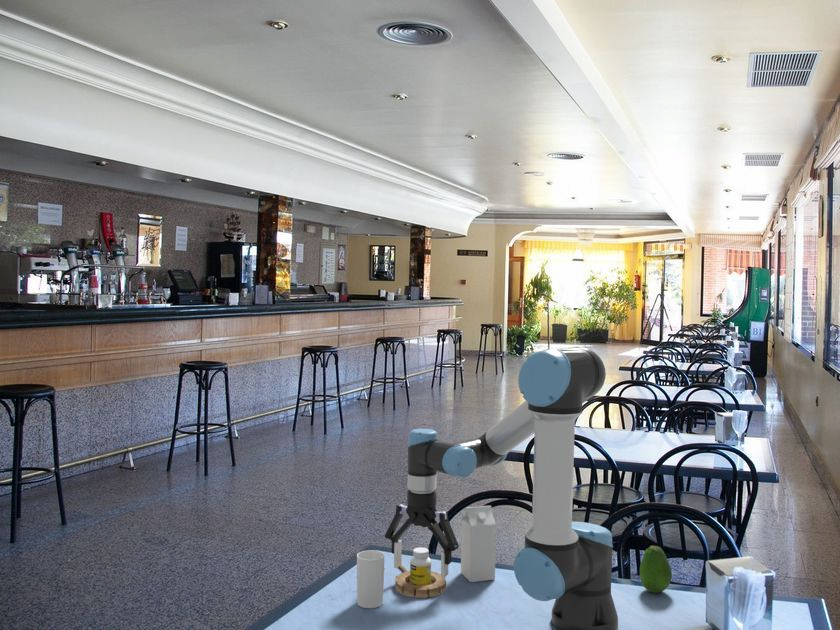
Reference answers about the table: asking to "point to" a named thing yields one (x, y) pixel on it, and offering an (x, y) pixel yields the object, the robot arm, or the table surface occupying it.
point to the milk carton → (478, 544)
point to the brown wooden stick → (402, 568)
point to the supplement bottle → (420, 567)
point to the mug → (370, 578)
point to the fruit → (655, 570)
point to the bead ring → (420, 591)
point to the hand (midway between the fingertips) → (420, 571)
